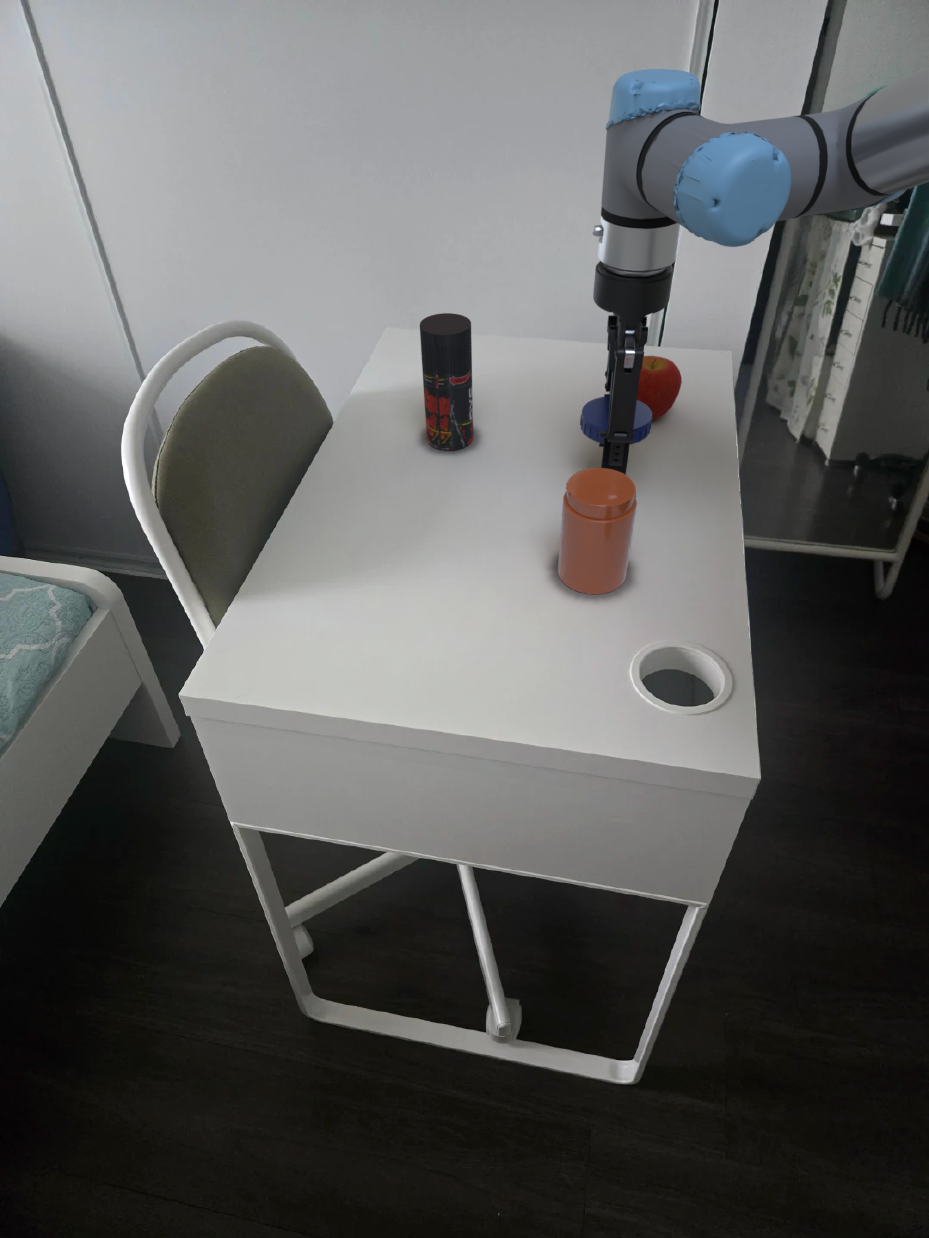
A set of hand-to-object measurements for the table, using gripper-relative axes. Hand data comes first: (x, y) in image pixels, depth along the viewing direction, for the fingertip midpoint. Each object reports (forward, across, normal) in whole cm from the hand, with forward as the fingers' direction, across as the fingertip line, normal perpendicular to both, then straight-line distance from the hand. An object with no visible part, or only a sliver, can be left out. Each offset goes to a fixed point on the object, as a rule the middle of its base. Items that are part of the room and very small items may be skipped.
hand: (611, 464), depth 94 cm
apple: (+2, -16, +5) cm, 17 cm away
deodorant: (+2, -8, -20) cm, 22 cm away
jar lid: (-6, 0, 0) cm, 6 cm away
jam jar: (+2, +17, -2) cm, 17 cm away
